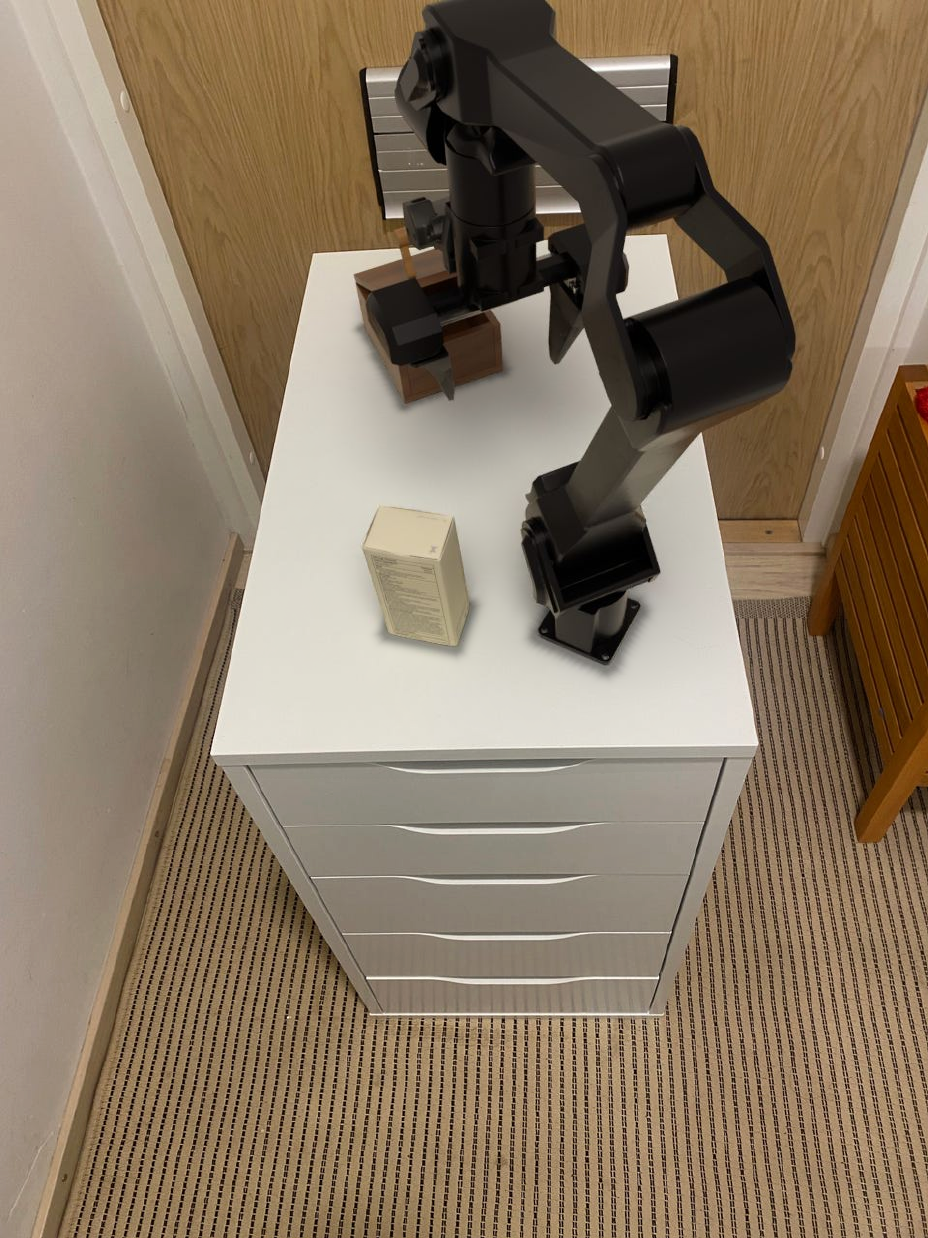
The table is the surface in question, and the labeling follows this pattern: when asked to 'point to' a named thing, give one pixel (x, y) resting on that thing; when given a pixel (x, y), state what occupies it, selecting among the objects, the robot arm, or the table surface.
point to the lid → (406, 267)
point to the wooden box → (465, 341)
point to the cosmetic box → (417, 573)
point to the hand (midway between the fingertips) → (502, 378)
